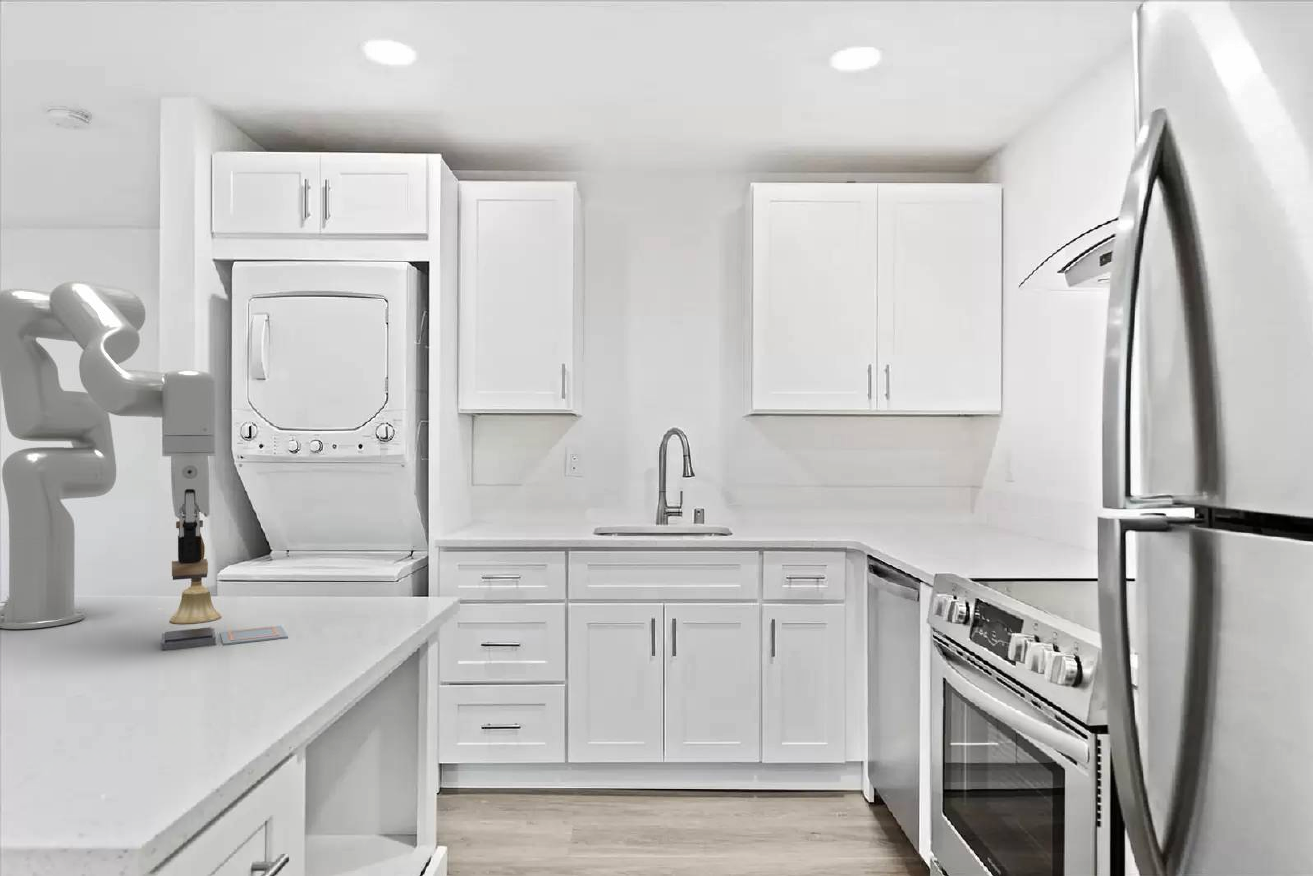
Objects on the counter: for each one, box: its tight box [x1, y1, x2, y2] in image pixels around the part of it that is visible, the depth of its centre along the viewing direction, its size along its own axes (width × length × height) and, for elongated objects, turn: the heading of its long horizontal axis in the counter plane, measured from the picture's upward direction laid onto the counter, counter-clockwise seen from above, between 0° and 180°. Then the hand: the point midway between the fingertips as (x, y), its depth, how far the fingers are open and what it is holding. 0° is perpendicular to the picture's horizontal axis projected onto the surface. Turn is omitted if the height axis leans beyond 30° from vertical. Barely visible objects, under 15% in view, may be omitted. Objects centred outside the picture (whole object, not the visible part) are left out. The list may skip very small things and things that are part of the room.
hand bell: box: [169, 532, 222, 625], centre depth 152 cm, size 8×8×16 cm
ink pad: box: [160, 627, 217, 651], centre depth 134 cm, size 8×8×2 cm
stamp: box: [171, 519, 209, 581], centre depth 134 cm, size 5×5×9 cm
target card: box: [219, 625, 289, 646], centre depth 139 cm, size 10×10×1 cm
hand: (189, 559), depth 134 cm, fingers closed on stamp, 3 cm apart
